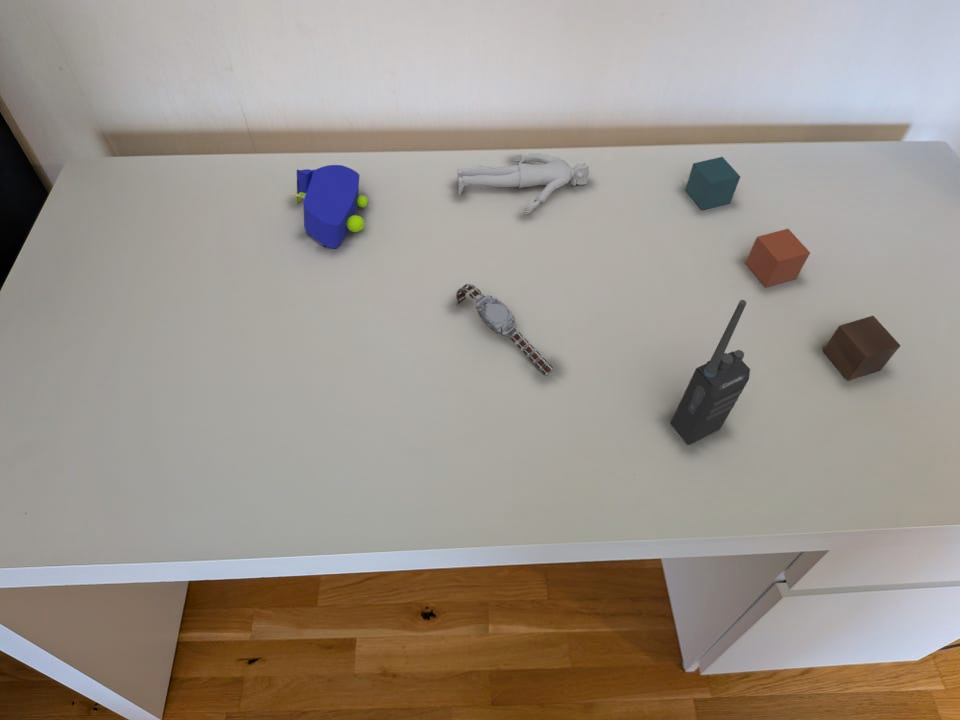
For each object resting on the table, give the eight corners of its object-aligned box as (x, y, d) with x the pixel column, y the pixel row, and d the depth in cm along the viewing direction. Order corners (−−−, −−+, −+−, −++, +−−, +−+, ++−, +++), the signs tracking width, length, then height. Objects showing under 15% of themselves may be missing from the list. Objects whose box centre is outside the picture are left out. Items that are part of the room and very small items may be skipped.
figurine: (461, 218, 90) (595, 211, 91) (461, 195, 87) (599, 188, 88) (455, 165, 97) (578, 160, 99) (454, 143, 94) (582, 137, 96)
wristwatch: (466, 292, 82) (474, 270, 78) (548, 378, 80) (562, 361, 75) (444, 307, 80) (451, 286, 76) (527, 396, 78) (540, 380, 74)
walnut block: (854, 340, 78) (873, 315, 74) (880, 370, 76) (901, 345, 72) (822, 350, 77) (839, 325, 74) (847, 381, 75) (866, 356, 71)
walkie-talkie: (687, 448, 69) (751, 322, 53) (667, 423, 71) (723, 294, 55) (724, 430, 71) (797, 302, 55) (704, 406, 73) (768, 275, 57)
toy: (357, 191, 95) (288, 194, 92) (359, 159, 91) (286, 161, 88) (375, 253, 89) (301, 259, 86) (378, 222, 85) (301, 227, 82)
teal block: (713, 183, 95) (722, 156, 91) (730, 203, 92) (740, 176, 89) (684, 190, 94) (693, 163, 90) (701, 210, 91) (710, 183, 88)
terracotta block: (775, 254, 86) (788, 228, 83) (796, 279, 84) (810, 252, 80) (744, 263, 86) (756, 236, 82) (765, 287, 83) (778, 261, 79)
